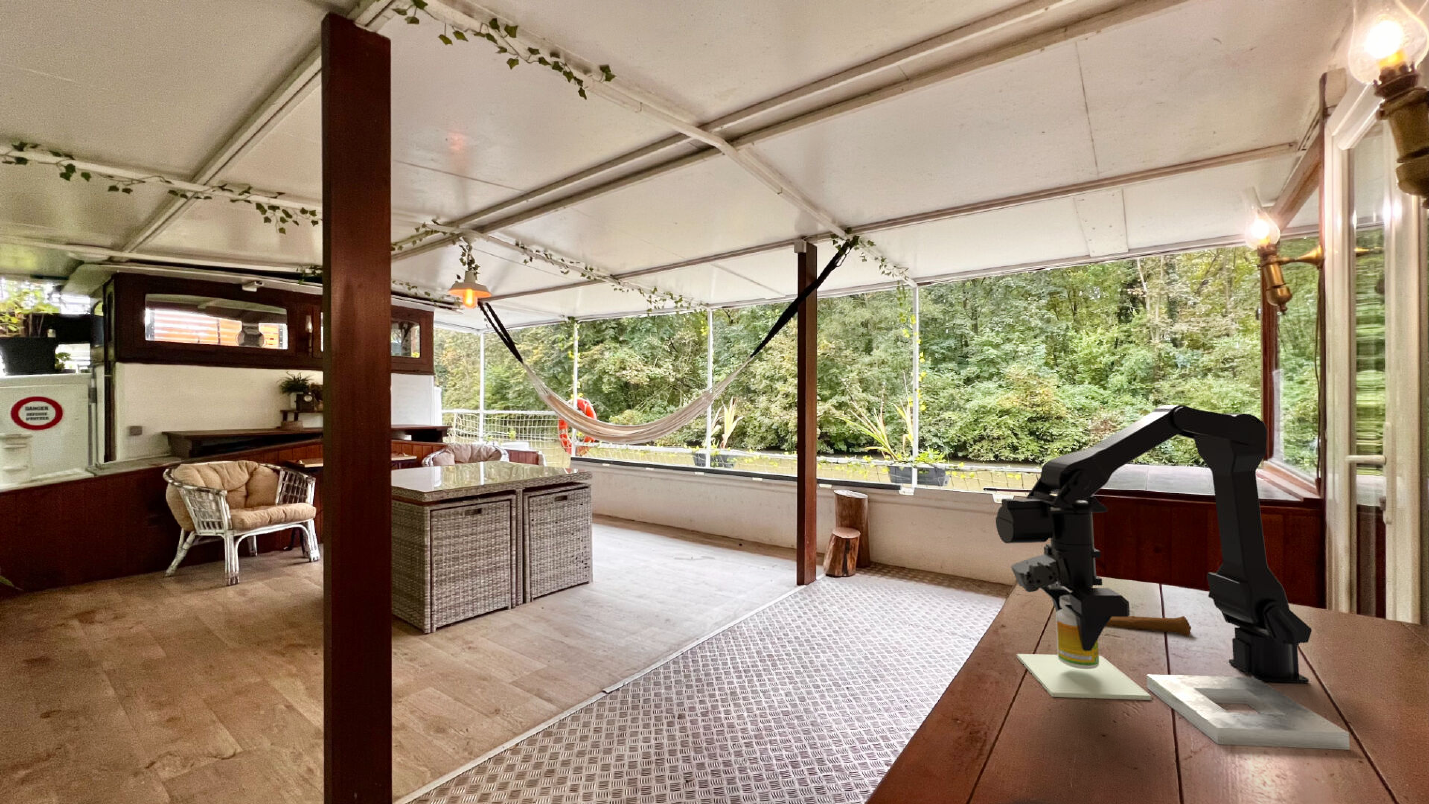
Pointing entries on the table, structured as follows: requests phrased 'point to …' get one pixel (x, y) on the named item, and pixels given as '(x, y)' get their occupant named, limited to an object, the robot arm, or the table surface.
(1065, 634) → the supplement bottle
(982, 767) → the table surface
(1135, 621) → the primitive tool
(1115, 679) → the sage pad
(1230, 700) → the post foot
